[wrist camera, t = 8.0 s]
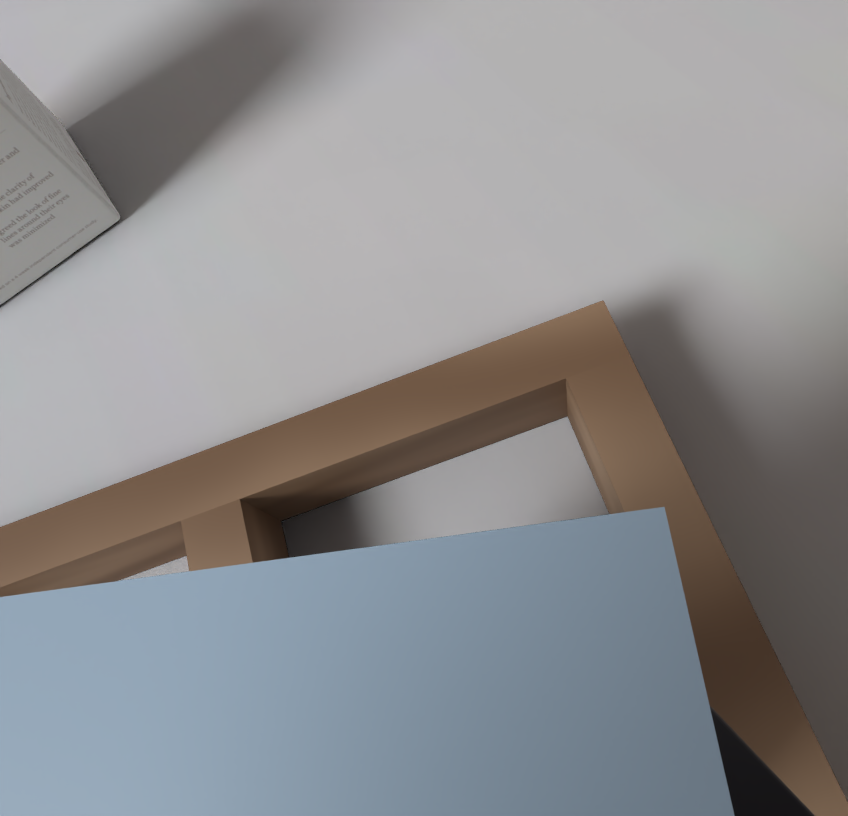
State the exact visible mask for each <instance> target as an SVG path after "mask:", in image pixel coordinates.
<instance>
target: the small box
mask: <svg viewBox="0 0 848 816" xmlns="http://www.w3.org/2000/svg"><path fill="white" fill-rule="evenodd" d="M119 219H120V215H119V213H118V211H117V210H116V208H115V207H114V205H113V204H112V202H111V201H110V199H109V197H108V196H107V194H106V192H105V191H104V189H103V188H102V186H101V185H100V183H99V181H98V180H97V178H96V177H95V175H94V174H93V172H92V170H91V169H90V167H89V166H88V164H87V162H86V161H85V159H84V158H83V156H82V154H81V153H80V151H79V150H78V148H77V147H76V145H75V143H74V142H73V140H72V139H71V137H70V136H69V134H68V133H67V131H66V129H65V128H64V126H63V125H62V123H61V122H60V121H59V120H58V119H57V118H56V117H55V116H54V115H53V114H52V113H51V112H50V111H49V110H48V108H47V107H46V106H45V105H44V104H43V103H42V102H41V101H40V100H39V99H38V98H37V97H36V96H35V95H34V94H33V93H32V92H31V91H30V90H29V89H28V88H27V87H26V85H25V84H24V83H23V82H22V81H21V80H20V79H19V78H18V77H17V76H16V75H15V74H14V73H13V72H12V71H11V70H10V69H9V68H8V67H7V66H6V65H5V64H4V63H3V62H2V60H1V59H0V305H1V304H2V303H4V302H5V301H7V300H8V299H10V298H11V297H12V296H14V295H15V294H17V293H18V292H19V291H21V290H22V289H24V288H25V287H26V286H28V285H29V284H31V283H32V282H33V281H35V280H36V279H38V278H39V277H40V276H42V275H43V274H45V273H46V272H47V271H49V270H50V269H52V268H53V267H55V266H56V265H57V264H59V263H60V262H62V261H63V260H64V259H66V258H67V257H69V256H70V255H71V254H73V253H74V252H75V251H77V250H78V249H80V248H81V247H82V246H84V245H85V244H87V243H88V242H89V241H91V240H92V239H93V238H95V237H96V236H98V235H99V234H100V233H102V232H103V231H105V230H106V229H107V228H109V227H110V226H112V225H113V224H114V223H116V222H117V221H119Z"/></svg>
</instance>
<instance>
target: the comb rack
mask: <svg viewBox="0 0 848 816" xmlns="http://www.w3.org/2000/svg"><path fill="white" fill-rule="evenodd" d="M566 416H568V418H569V421H570V423H571V425H572V428H573V430H574V432H575V435H576V437H577V439H578V442H579V444H580V446H581V449H582V451H583V453H584V456H585V458H586V460H587V463H588V465H589V467H590V470H591V472H592V474H593V477H594V479H595V481H596V484H597V486H598V488H599V491H600V493H601V495H602V498H603V500H604V502H605V505H606V507H607V509H608V512H609V514H615V513H622V512H630V511H637V510H644V509H652V508H659V507H665V511H666V516H667V520H668V525H669V529H670V533H671V538H672V542H673V547H674V551H675V555H676V560H677V564H678V569H679V573H680V578H681V582H682V586H683V591H684V595H685V600H686V604H687V608H688V613H689V617H690V622H691V626H692V630H693V635H694V639H695V644H696V648H697V652H698V657H699V661H700V666H701V670H702V674H703V679H704V683H705V688H706V692H707V697H708V701H709V705H710V706H711V707H712V708H713V709H714V710H715V711H716V712H717V713H718V714H719V715H720V716H721V718H722V719H723V720H724V721H725V722H726V723H727V724H728V725H729V726H730V727H731V728H732V729H733V730H734V731H735V732H736V733H737V734H738V735H739V736H740V737H741V738H742V740H743V741H744V742H745V743H746V744H747V745H748V746H749V747H750V748H751V749H752V750H753V751H754V752H755V753H756V754H757V755H758V756H759V757H760V758H761V759H762V760H763V762H764V763H765V764H766V765H767V766H768V767H769V768H770V769H771V770H772V771H773V772H774V773H775V774H776V775H777V776H778V777H779V778H780V779H781V780H782V781H783V782H784V784H785V785H786V786H787V787H788V788H789V789H790V790H791V791H792V792H793V793H794V794H795V795H796V796H797V797H798V798H799V799H800V800H801V801H802V802H803V803H804V804H805V806H806V807H807V808H808V809H809V810H810V811H811V812H812V813H813V814H814V815H815V816H848V802H847V800H846V798H845V796H844V794H843V792H842V789H841V787H840V785H839V783H838V781H837V779H836V777H835V775H834V773H833V771H832V769H831V767H830V765H829V763H828V761H827V759H826V757H825V755H824V753H823V750H822V748H821V746H820V744H819V742H818V740H817V738H816V736H815V734H814V732H813V730H812V728H811V726H810V724H809V722H808V720H807V718H806V716H805V713H804V711H803V709H802V707H801V705H800V703H799V701H798V699H797V697H796V695H795V693H794V691H793V689H792V687H791V685H790V683H789V681H788V679H787V677H786V674H785V672H784V670H783V668H782V666H781V664H780V662H779V660H778V658H777V656H776V654H775V652H774V650H773V648H772V646H771V644H770V642H769V640H768V637H767V635H766V633H765V631H764V629H763V627H762V625H761V623H760V621H759V619H758V617H757V615H756V613H755V611H754V609H753V607H752V605H751V603H750V601H749V598H748V596H747V594H746V592H745V590H744V588H743V586H742V584H741V582H740V580H739V578H738V576H737V574H736V572H735V570H734V568H733V566H732V564H731V561H730V559H729V557H728V555H727V553H726V551H725V549H724V547H723V545H722V543H721V541H720V539H719V537H718V535H717V533H716V531H715V529H714V527H713V525H712V522H711V520H710V518H709V516H708V514H707V512H706V510H705V508H704V506H703V504H702V502H701V500H700V498H699V496H698V494H697V492H696V490H695V488H694V485H693V483H692V481H691V479H690V477H689V475H688V473H687V471H686V469H685V467H684V465H683V463H682V461H681V459H680V457H679V455H678V453H677V451H676V449H675V446H674V444H673V442H672V440H671V438H670V436H669V434H668V432H667V430H666V428H665V426H664V424H663V422H662V420H661V418H660V416H659V414H658V412H657V409H656V407H655V405H654V403H653V401H652V399H651V397H650V395H649V393H648V391H647V389H646V387H645V385H644V383H643V381H642V379H641V377H640V375H639V373H638V370H637V368H636V366H635V364H634V362H633V360H632V358H631V356H630V354H629V352H628V350H627V348H626V346H625V344H624V342H623V340H622V338H621V336H620V333H619V331H618V329H617V327H616V325H615V323H614V321H613V319H612V317H611V315H610V313H609V311H608V309H607V307H606V305H605V303H604V301H600V302H598V303H595V304H592V305H590V306H587V307H584V308H582V309H579V310H576V311H574V312H571V313H568V314H566V315H563V316H560V317H558V318H555V319H552V320H550V321H547V322H544V323H542V324H539V325H536V326H534V327H531V328H528V329H526V330H523V331H520V332H518V333H515V334H513V335H510V336H507V337H505V338H502V339H499V340H497V341H494V342H491V343H489V344H486V345H483V346H481V347H478V348H475V349H473V350H470V351H467V352H465V353H462V354H459V355H457V356H454V357H451V358H449V359H446V360H443V361H441V362H438V363H435V364H433V365H430V366H427V367H425V368H422V369H419V370H417V371H414V372H412V373H409V374H406V375H404V376H401V377H398V378H396V379H393V380H390V381H388V382H385V383H382V384H380V385H377V386H374V387H372V388H369V389H366V390H364V391H361V392H358V393H356V394H353V395H350V396H348V397H345V398H342V399H340V400H337V401H334V402H332V403H329V404H326V405H324V406H321V407H319V408H316V409H313V410H311V411H308V412H305V413H303V414H300V415H297V416H295V417H292V418H289V419H287V420H284V421H281V422H279V423H276V424H273V425H271V426H268V427H265V428H263V429H260V430H257V431H255V432H252V433H249V434H247V435H244V436H241V437H239V438H236V439H233V440H231V441H228V442H225V443H223V444H220V445H218V446H215V447H212V448H210V449H207V450H204V451H202V452H199V453H196V454H194V455H191V456H188V457H186V458H183V459H180V460H178V461H175V462H172V463H170V464H167V465H164V466H162V467H159V468H156V469H154V470H151V471H148V472H146V473H143V474H140V475H138V476H135V477H132V478H130V479H127V480H125V481H122V482H119V483H117V484H114V485H111V486H109V487H106V488H103V489H101V490H98V491H95V492H93V493H90V494H87V495H85V496H82V497H79V498H77V499H74V500H71V501H69V502H66V503H63V504H61V505H58V506H55V507H53V508H50V509H47V510H45V511H42V512H39V513H37V514H34V515H31V516H29V517H26V518H24V519H21V520H18V521H16V522H13V523H10V524H8V525H5V526H2V527H0V597H4V596H12V595H19V594H27V593H34V592H41V591H49V590H56V589H63V588H71V587H78V586H85V585H93V584H100V583H107V582H115V581H118V580H121V579H123V578H126V577H129V576H132V575H134V574H137V573H140V572H143V571H145V570H148V569H151V568H154V567H156V566H159V565H162V564H164V563H167V562H170V561H173V560H175V559H178V558H181V557H184V556H186V555H187V560H188V566H189V571H196V570H203V569H210V568H218V567H225V566H233V565H240V564H247V563H255V562H262V561H269V560H277V559H284V558H289V555H288V550H287V546H286V542H285V537H284V533H283V529H282V524H281V521H282V520H285V519H288V518H290V517H293V516H296V515H298V514H301V513H304V512H307V511H309V510H312V509H315V508H318V507H320V506H323V505H326V504H329V503H331V502H334V501H337V500H339V499H342V498H345V497H348V496H350V495H353V494H356V493H359V492H361V491H364V490H367V489H370V488H372V487H375V486H378V485H380V484H383V483H386V482H389V481H391V480H394V479H397V478H400V477H402V476H405V475H408V474H411V473H413V472H416V471H419V470H422V469H424V468H427V467H430V466H432V465H435V464H438V463H441V462H443V461H446V460H449V459H452V458H454V457H457V456H460V455H463V454H465V453H468V452H471V451H473V450H476V449H479V448H482V447H484V446H487V445H490V444H493V443H495V442H498V441H501V440H504V439H506V438H509V437H512V436H514V435H517V434H520V433H523V432H525V431H528V430H531V429H534V428H536V427H539V426H542V425H545V424H547V423H550V422H553V421H556V420H558V419H561V418H564V417H566Z"/></svg>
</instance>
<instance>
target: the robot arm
mask: <svg viewBox="0 0 848 816" xmlns="http://www.w3.org/2000/svg"><path fill="white" fill-rule="evenodd" d="M710 710H711V714H712V719H713V723H714V727H715V732H716V736H717V741H718V745H719V749H720V754H721V758H722V763H723V767H724V771H725V776H726V780H727V785H728V789H729V794H730V798H731V802H732V807H733V811H734V816H815V815H814V814H813V813H812V812H811V811H810V810H809V809H808V808H807V807H806V806H805V804H804V803H803V802H802V801H801V800H800V799H799V798H798V797H797V796H796V795H795V794H794V793H793V792H792V791H791V790H790V789H789V788H788V787H787V786H786V785H785V784H784V782H783V781H782V780H781V779H780V778H779V777H778V776H777V775H776V774H775V773H774V772H773V771H772V770H771V769H770V768H769V767H768V766H767V765H766V764H765V763H764V762H763V760H762V759H761V758H760V757H759V756H758V755H757V754H756V753H755V752H754V751H753V750H752V749H751V748H750V747H749V746H748V745H747V744H746V743H745V742H744V741H743V740H742V738H741V737H740V736H739V735H738V734H737V733H736V732H735V731H734V730H733V729H732V728H731V727H730V726H729V725H728V724H727V723H726V722H725V721H724V720H723V719H722V718H721V716H720V715H719V714H718V713H717V712H716V711H715V710H714V709H713V708H712V707H711V706H710Z"/></svg>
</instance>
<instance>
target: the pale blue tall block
mask: <svg viewBox="0 0 848 816" xmlns="http://www.w3.org/2000/svg"><path fill="white" fill-rule="evenodd" d="M0 816H734V811H733V807H732V802H731V798H730V794H729V789H728V785H727V780H726V776H725V771H724V767H723V763H722V758H721V754H720V749H719V745H718V741H717V736H716V732H715V727H714V723H713V719H712V714H711V710H710V705H709V701H708V697H707V692H706V688H705V683H704V679H703V674H702V670H701V666H700V661H699V657H698V652H697V648H696V644H695V639H694V635H693V630H692V626H691V622H690V617H689V613H688V608H687V604H686V600H685V595H684V591H683V586H682V582H681V578H680V573H679V569H678V564H677V560H676V555H675V551H674V547H673V542H672V538H671V533H670V529H669V525H668V520H667V516H666V511H665V507H659V508H652V509H644V510H637V511H630V512H622V513H615V514H608V515H600V516H593V517H586V518H578V519H571V520H564V521H556V522H549V523H541V524H534V525H527V526H519V527H512V528H505V529H497V530H490V531H483V532H475V533H468V534H461V535H453V536H446V537H438V538H431V539H424V540H416V541H409V542H402V543H394V544H387V545H380V546H372V547H365V548H358V549H350V550H343V551H335V552H328V553H321V554H313V555H306V556H299V557H291V558H284V559H277V560H269V561H262V562H255V563H247V564H240V565H233V566H225V567H218V568H210V569H203V570H196V571H188V572H181V573H174V574H166V575H159V576H152V577H144V578H137V579H130V580H122V581H115V582H107V583H100V584H93V585H85V586H78V587H71V588H63V589H56V590H49V591H41V592H34V593H27V594H19V595H12V596H4V597H0Z"/></svg>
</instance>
